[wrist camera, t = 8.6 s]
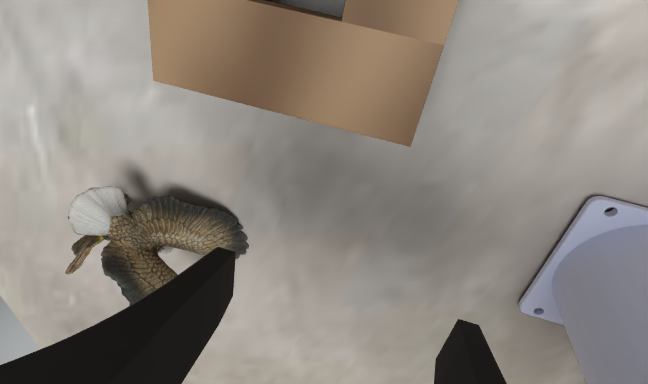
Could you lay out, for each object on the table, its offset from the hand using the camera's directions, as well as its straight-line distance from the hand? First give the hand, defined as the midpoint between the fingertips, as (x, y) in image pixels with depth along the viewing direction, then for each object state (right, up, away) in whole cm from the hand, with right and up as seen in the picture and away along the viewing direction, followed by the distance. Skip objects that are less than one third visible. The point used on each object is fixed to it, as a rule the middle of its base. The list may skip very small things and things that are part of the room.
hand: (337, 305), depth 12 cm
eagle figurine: (-10, +2, +13) cm, 17 cm away
